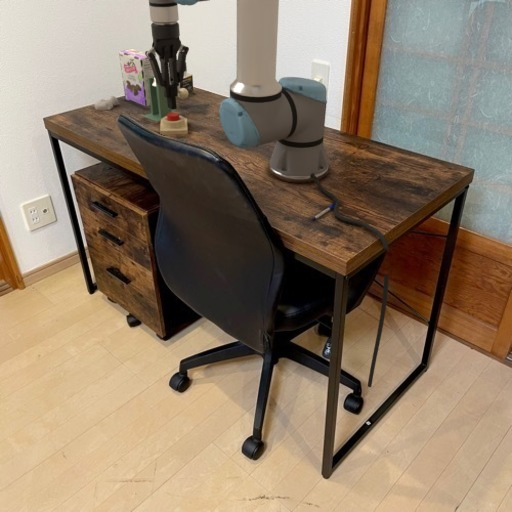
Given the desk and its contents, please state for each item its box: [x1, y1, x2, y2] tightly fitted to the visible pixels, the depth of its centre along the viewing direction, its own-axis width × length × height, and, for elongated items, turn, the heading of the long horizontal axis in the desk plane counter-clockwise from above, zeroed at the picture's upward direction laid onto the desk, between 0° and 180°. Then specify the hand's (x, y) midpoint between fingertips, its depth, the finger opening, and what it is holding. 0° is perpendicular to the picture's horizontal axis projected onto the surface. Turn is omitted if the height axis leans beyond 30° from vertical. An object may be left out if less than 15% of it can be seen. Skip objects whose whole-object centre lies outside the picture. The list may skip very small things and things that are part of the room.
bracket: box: [141, 76, 182, 123], centre depth 166 cm, size 10×8×13 cm
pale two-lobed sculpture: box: [93, 95, 119, 112], centre depth 175 cm, size 4×8×5 cm
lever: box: [152, 78, 190, 101], centre depth 168 cm, size 14×4×4 cm, turn 138°
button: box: [167, 112, 180, 121], centre depth 158 cm, size 4×4×2 cm
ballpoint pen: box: [311, 201, 341, 221], centre depth 119 cm, size 10×1×1 cm, turn 141°
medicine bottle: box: [169, 58, 194, 94], centre depth 187 cm, size 7×7×12 cm
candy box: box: [118, 48, 154, 107], centre depth 178 cm, size 14×6×16 cm, turn 42°
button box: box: [159, 115, 189, 136], centre depth 159 cm, size 10×8×4 cm
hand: (172, 107), depth 156 cm, fingers closed
